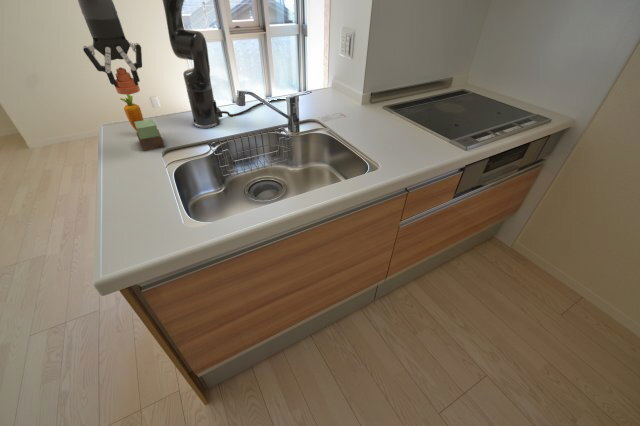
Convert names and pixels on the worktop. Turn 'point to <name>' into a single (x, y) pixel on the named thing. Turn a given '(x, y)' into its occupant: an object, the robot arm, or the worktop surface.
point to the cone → (125, 82)
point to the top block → (146, 129)
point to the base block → (151, 142)
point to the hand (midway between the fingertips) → (126, 84)
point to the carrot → (132, 111)
